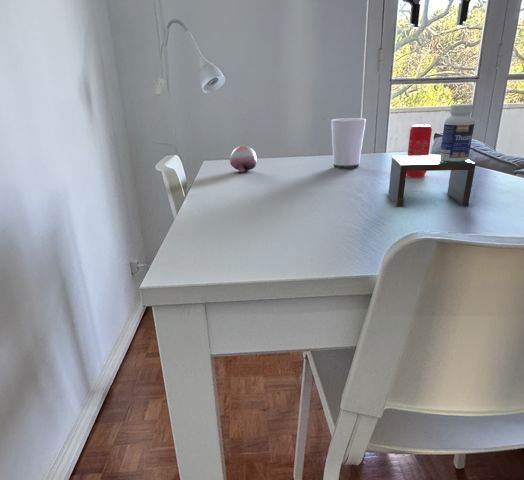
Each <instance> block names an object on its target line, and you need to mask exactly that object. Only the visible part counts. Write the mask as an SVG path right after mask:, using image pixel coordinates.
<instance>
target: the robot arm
mask: <svg viewBox="0 0 524 480" xmlns="http://www.w3.org/2000/svg"><path fill="white" fill-rule="evenodd" d="M471 1H472V0H460V3H459V4H458V10H457V17H456V27H462V26H463V25H464V23H466V22H467V20H468V14H469V7H470V2H471ZM402 2H404V3H407V4H409V5H410V15H409V25H410V26H412V28H411V29H418V27H419V20H420V11H421V4H420V2H421V0H402Z"/></svg>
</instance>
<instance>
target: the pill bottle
mask: <svg viewBox="0 0 524 480" xmlns="http://www.w3.org/2000/svg"><path fill="white" fill-rule="evenodd" d="M473 111H474V104H473V103H455V104H450V108H449V114H450V116H448V117H447V118H445V120H444V123H443V130H442V137H441V144H440V151H439V155H440V160H442V161H448V162H461V161H466V160H469V156H470V152H471V146H472V140H473V134H474V128H475V124H476V123H475V122H476V120H475V118H474V117H473V116H471V115H472V113H473Z"/></svg>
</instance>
